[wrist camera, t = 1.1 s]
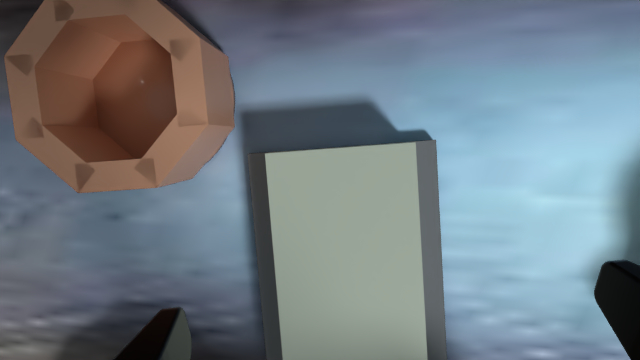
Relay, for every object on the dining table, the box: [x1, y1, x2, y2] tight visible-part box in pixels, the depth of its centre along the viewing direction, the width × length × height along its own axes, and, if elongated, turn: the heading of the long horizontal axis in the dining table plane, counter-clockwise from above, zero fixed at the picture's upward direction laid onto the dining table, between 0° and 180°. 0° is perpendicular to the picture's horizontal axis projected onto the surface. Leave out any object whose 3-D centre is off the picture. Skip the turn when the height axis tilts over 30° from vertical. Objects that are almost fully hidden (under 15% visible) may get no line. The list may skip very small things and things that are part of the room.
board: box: [265, 142, 427, 360], centre depth 20 cm, size 12×6×2 cm, turn 4°
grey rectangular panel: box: [248, 140, 447, 360], centre depth 21 cm, size 12×9×1 cm
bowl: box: [4, 0, 235, 193], centre depth 19 cm, size 8×8×4 cm
